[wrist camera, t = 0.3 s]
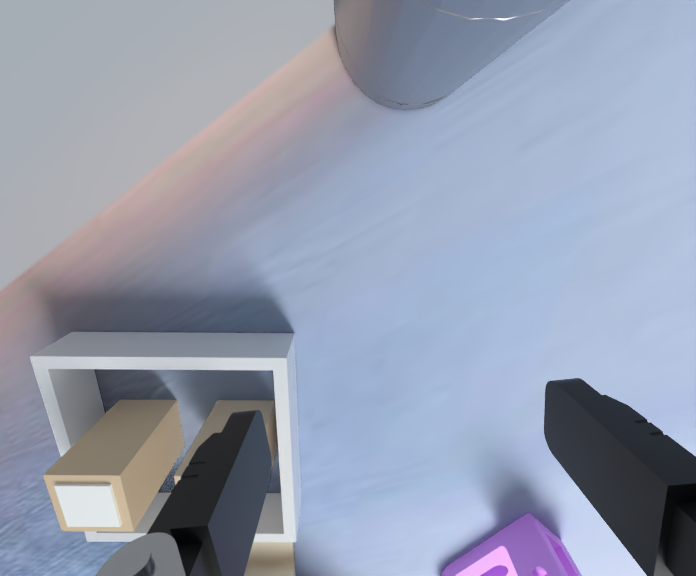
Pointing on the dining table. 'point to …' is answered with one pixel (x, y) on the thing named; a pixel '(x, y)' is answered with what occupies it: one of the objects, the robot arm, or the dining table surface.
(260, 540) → the bin
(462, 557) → the bracket
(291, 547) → the board
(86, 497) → the labelled box
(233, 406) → the plain box
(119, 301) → the dining table surface
